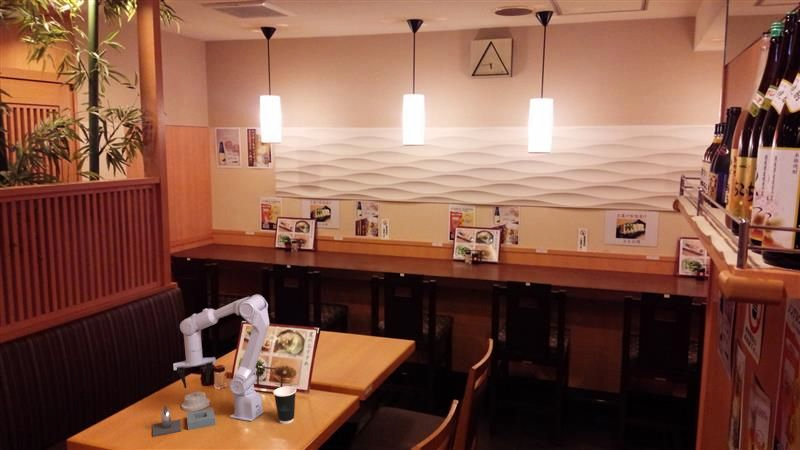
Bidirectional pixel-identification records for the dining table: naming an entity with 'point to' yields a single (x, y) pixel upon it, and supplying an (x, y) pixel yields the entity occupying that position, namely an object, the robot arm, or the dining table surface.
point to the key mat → (160, 431)
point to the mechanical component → (195, 401)
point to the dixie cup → (285, 403)
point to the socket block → (200, 418)
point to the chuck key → (166, 418)
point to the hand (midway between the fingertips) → (196, 385)
